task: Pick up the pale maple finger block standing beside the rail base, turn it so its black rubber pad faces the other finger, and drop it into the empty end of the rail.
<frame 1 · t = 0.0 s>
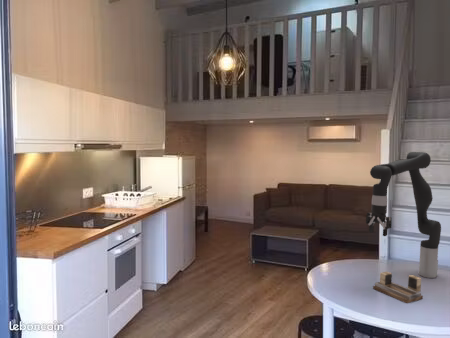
hand: (377, 234, 199), 29 cm above the table, tool pointing down, fingers open, 8 cm apart
rail base: (397, 293, 194), on the table
maple finger: (414, 289, 199), on the table
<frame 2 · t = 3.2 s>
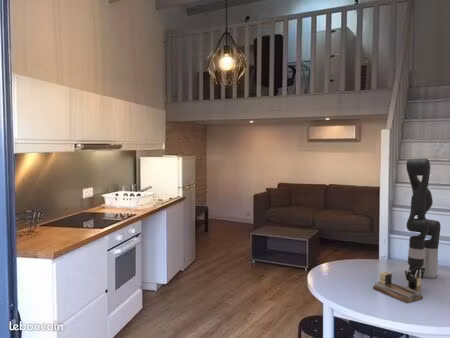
hand: (414, 287, 199), 1 cm above the table, tool pointing down, fingers open, 3 cm apart
maple finger: (414, 289, 199), on the table, touching gripper
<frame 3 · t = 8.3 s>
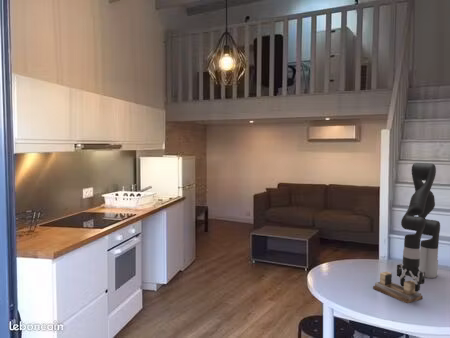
hand: (409, 288, 187), 5 cm above the table, tool pointing down, fingers open, 7 cm apart
maple finger: (409, 295, 188), point 1 cm above the table, touching rail base
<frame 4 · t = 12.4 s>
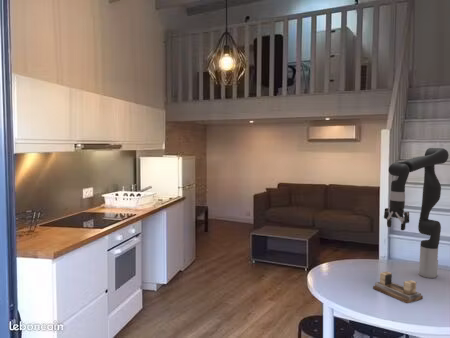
hand: (395, 228, 209), 30 cm above the table, tool pointing down, fingers open, 8 cm apart
nothing on the table moved.
at the end: maple finger 0.6 cm from the target spot on the rail base, point 1.5 cm above the rail base's base; maple finger tilted 0°; the gripper is holding nothing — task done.
